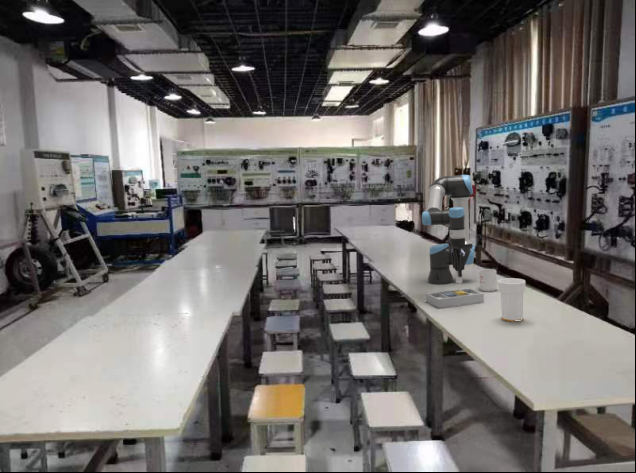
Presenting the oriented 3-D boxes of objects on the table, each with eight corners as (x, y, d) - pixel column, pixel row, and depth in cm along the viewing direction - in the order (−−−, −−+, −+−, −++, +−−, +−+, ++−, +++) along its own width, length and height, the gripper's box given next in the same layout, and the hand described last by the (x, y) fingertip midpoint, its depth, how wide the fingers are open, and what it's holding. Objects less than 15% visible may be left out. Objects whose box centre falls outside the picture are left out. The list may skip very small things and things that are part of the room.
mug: (500, 290, 263) (499, 270, 261) (488, 292, 259) (487, 272, 258) (484, 286, 273) (483, 267, 272) (472, 288, 270) (471, 269, 268)
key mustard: (453, 295, 247) (453, 291, 247) (461, 294, 248) (461, 290, 248) (458, 297, 243) (457, 293, 242) (465, 296, 244) (465, 292, 243)
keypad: (426, 302, 249) (426, 293, 249) (469, 296, 254) (469, 287, 254) (438, 308, 236) (438, 299, 235) (483, 302, 241) (483, 293, 240)
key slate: (443, 297, 246) (443, 293, 246) (451, 296, 247) (450, 292, 246) (447, 299, 242) (447, 295, 241) (455, 298, 242) (455, 293, 242)
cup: (512, 324, 204) (511, 285, 202) (493, 318, 215) (492, 280, 213) (531, 319, 209) (531, 281, 207) (512, 313, 219) (511, 276, 217)
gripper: (444, 237, 247) (446, 281, 250) (456, 239, 235) (458, 286, 237) (457, 235, 249) (459, 279, 251) (470, 238, 236) (472, 284, 239)
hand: (459, 282), depth 244 cm, fingers closed
